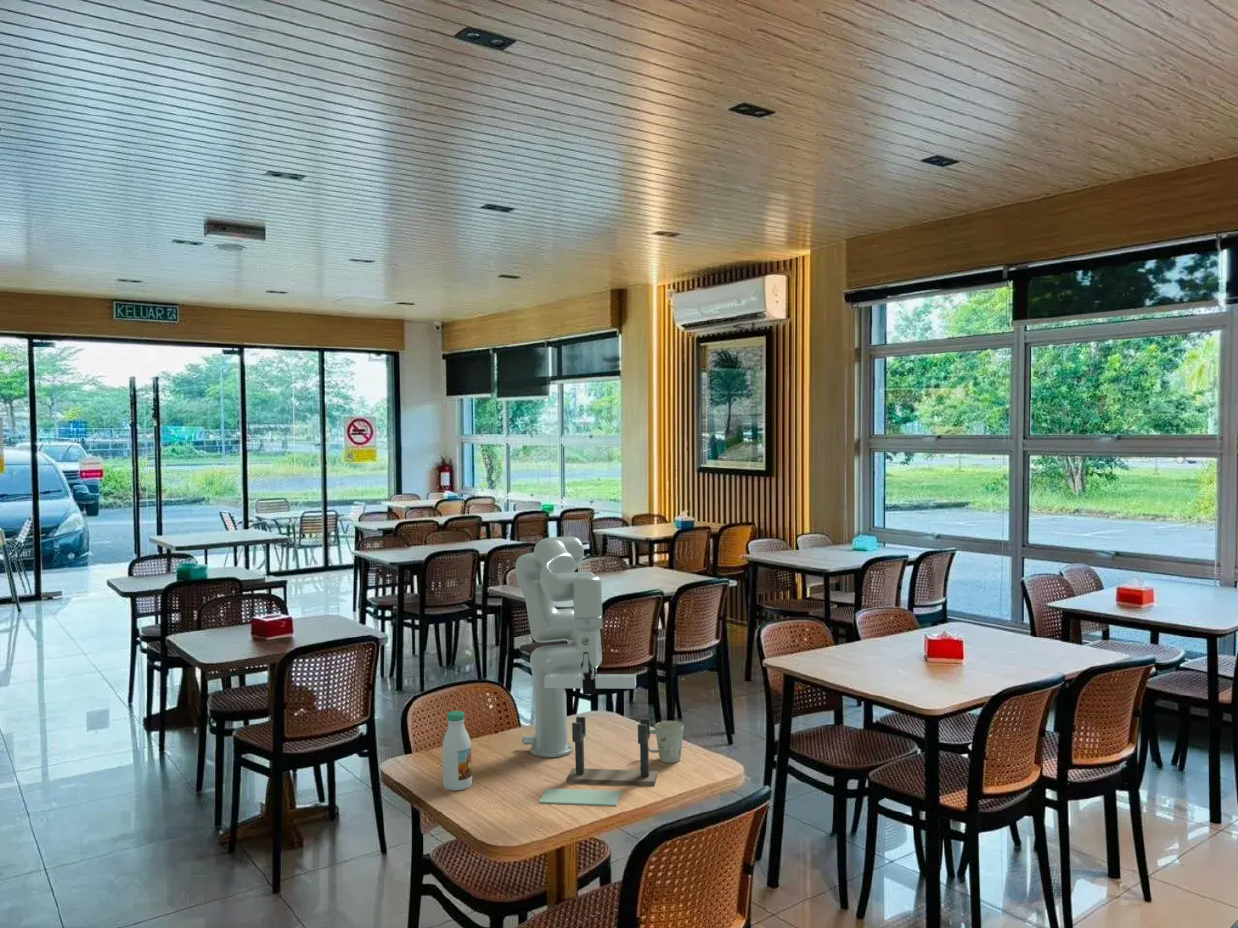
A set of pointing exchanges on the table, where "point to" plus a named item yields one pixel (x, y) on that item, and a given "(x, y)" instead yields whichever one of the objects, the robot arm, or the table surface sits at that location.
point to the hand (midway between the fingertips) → (590, 691)
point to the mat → (581, 797)
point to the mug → (668, 740)
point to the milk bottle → (456, 754)
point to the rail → (600, 679)
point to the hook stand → (611, 775)
